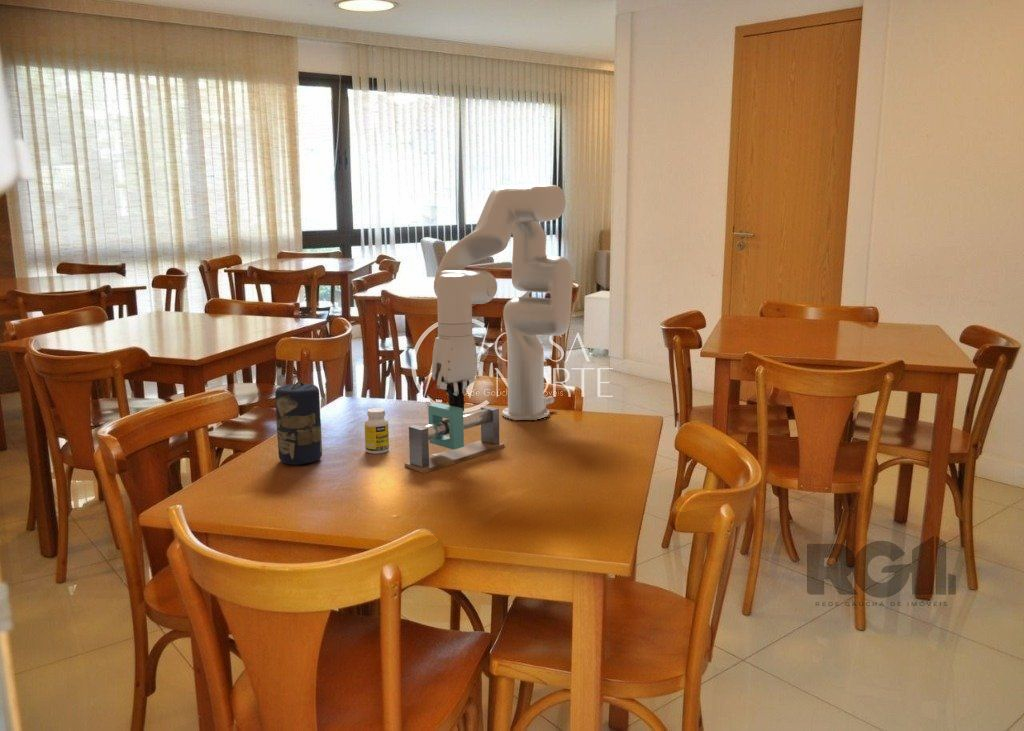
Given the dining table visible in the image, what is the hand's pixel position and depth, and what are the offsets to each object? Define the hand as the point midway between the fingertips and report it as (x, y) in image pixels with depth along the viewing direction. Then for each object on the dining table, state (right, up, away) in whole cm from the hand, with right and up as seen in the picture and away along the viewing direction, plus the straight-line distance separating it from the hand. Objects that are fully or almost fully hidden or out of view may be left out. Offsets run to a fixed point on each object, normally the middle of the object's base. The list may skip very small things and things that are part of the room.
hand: (456, 411), depth 189 cm
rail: (0, -10, +2) cm, 11 cm away
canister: (-35, -11, 0) cm, 37 cm away
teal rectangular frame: (-2, -7, -1) cm, 8 cm away
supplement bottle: (-19, -10, +7) cm, 22 cm away
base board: (0, -10, +2) cm, 11 cm away
